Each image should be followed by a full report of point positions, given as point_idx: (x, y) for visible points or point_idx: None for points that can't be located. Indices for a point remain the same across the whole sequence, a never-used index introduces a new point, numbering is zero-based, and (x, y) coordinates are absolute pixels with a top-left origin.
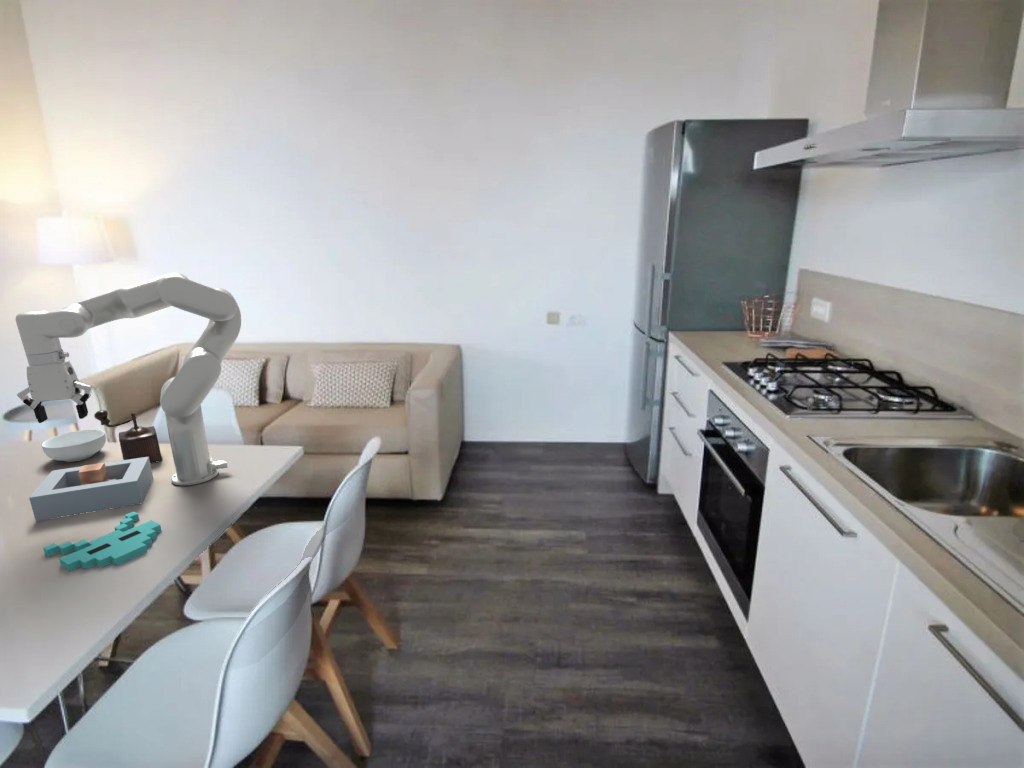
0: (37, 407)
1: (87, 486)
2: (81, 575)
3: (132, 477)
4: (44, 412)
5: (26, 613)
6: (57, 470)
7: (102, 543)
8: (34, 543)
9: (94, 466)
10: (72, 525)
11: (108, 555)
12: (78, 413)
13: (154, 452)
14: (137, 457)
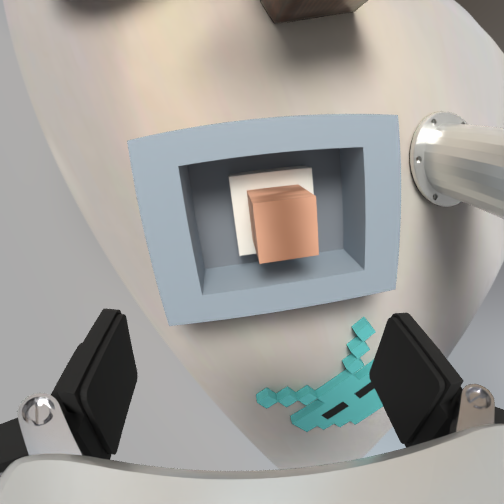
0: (94, 452)
1: (290, 296)
2: (319, 429)
3: (385, 267)
4: (108, 366)
5: (286, 461)
6: (143, 143)
7: (337, 401)
8: (222, 367)
9: (294, 224)
10: (261, 324)
11: (347, 420)
12: (385, 402)
13: (353, 3)
14: (312, 9)
